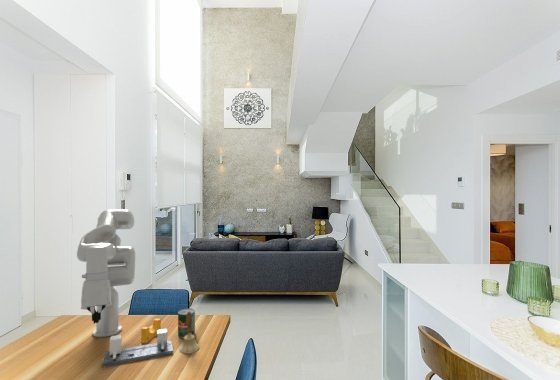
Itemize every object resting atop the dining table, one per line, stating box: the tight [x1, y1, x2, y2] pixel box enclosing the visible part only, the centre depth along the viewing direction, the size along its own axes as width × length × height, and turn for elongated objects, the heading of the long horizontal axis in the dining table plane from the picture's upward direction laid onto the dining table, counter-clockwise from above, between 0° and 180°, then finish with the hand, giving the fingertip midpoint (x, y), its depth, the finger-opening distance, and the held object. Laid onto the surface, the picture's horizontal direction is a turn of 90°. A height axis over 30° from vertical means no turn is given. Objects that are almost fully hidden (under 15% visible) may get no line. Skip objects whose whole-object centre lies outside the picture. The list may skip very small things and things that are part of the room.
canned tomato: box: [177, 308, 196, 339], centre depth 151 cm, size 8×8×11 cm
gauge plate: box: [101, 328, 174, 368], centre depth 132 cm, size 10×26×8 cm, turn 113°
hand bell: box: [178, 312, 200, 355], centre depth 137 cm, size 8×8×16 cm
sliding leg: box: [109, 334, 123, 359], centre depth 128 cm, size 8×4×6 cm, turn 23°
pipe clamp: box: [140, 318, 162, 344], centre depth 149 cm, size 12×4×6 cm, turn 171°
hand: (96, 322), depth 128 cm, fingers closed
